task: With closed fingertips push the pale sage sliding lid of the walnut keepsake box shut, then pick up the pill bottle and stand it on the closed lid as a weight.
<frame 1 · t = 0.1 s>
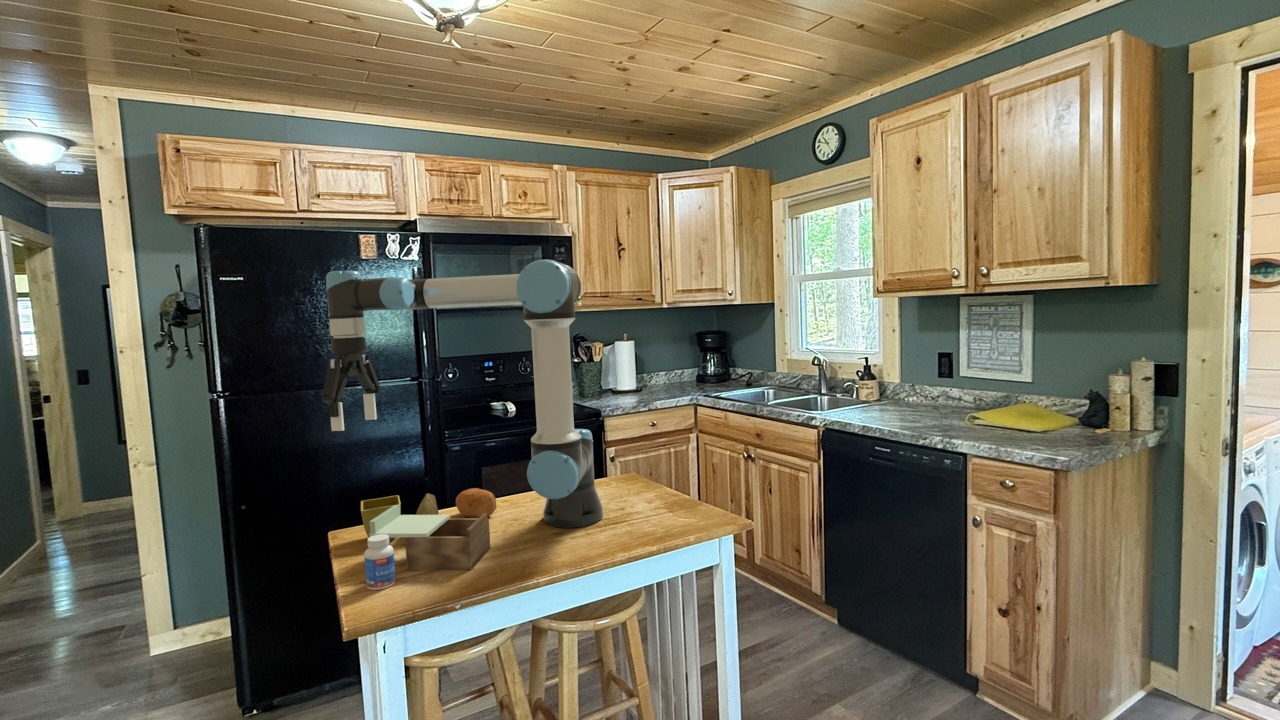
hand: (355, 425, 151), 28 cm above the table, fingers open, 13 cm apart
keepsake box: (450, 558, 138), on the table
rock: (424, 538, 153), on the table
potato: (475, 516, 167), on the table
lid: (410, 520, 139), point 9 cm above the table, slide at 8.0 cm
pill bottle: (381, 585, 126), on the table
flower pot: (383, 539, 153), on the table
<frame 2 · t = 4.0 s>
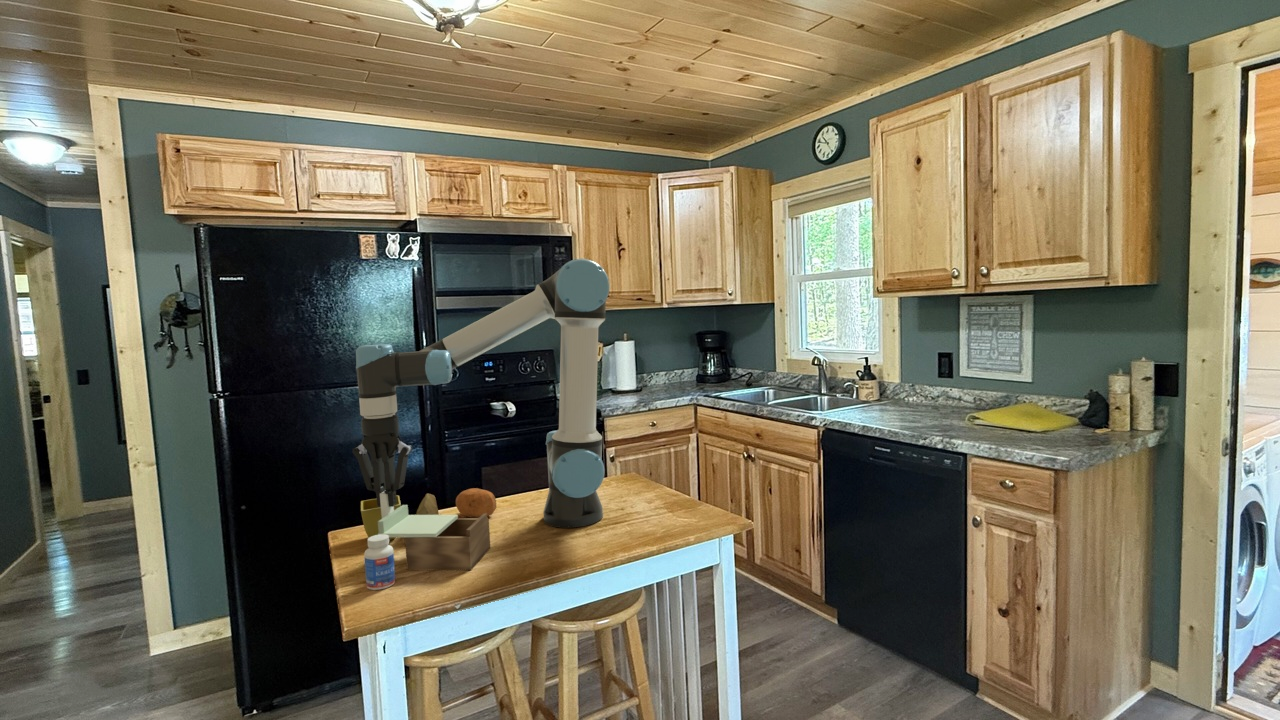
hand: (388, 520, 139), 9 cm above the table, fingers closed
lid: (418, 520, 138), point 9 cm above the table, slide at 6.1 cm, touching gripper
everything else where it was.
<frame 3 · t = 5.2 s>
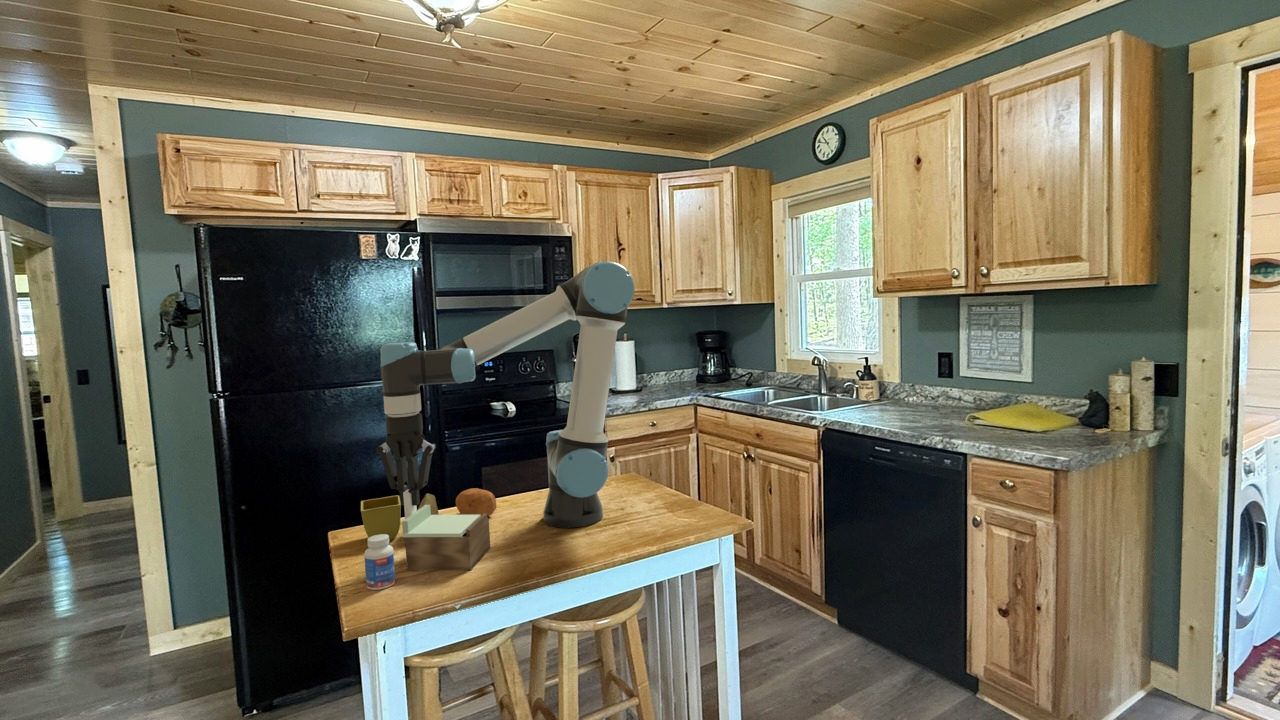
hand: (411, 519, 139), 9 cm above the table, fingers closed
lid: (442, 519, 138), point 9 cm above the table, slide at 0.7 cm, touching gripper
everything else where it was.
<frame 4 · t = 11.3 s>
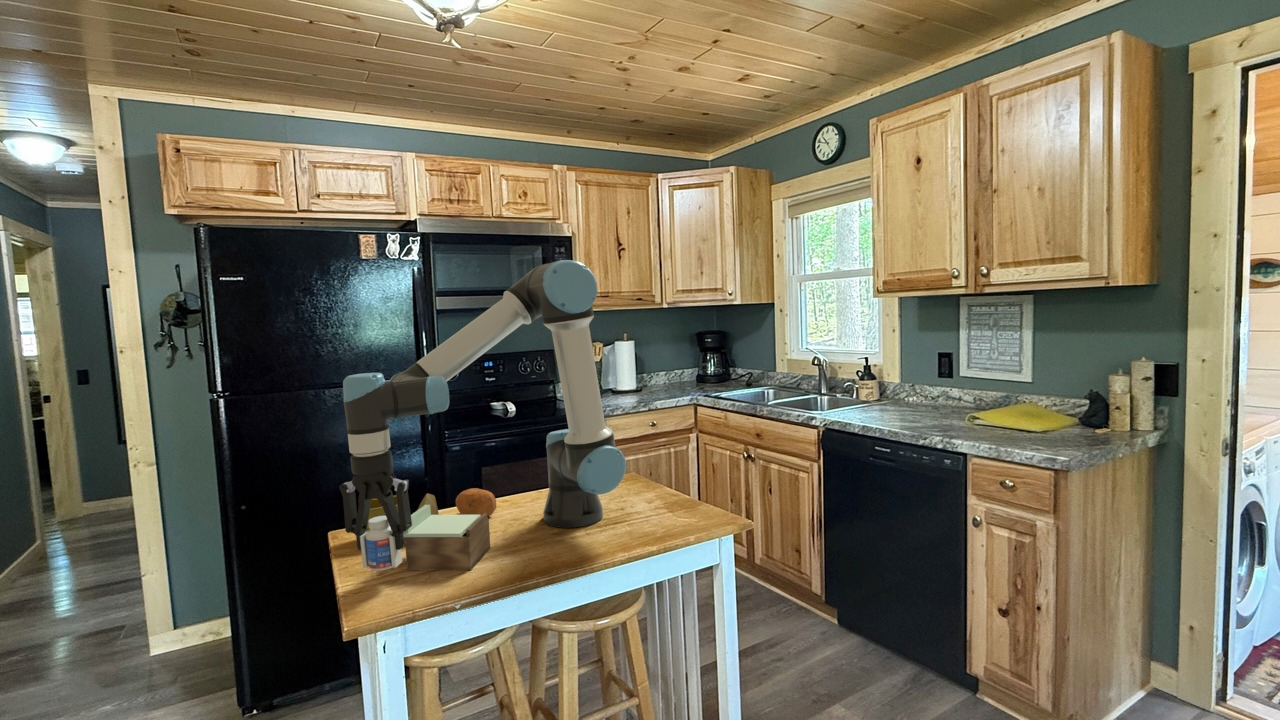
hand: (382, 564, 126), 4 cm above the table, fingers closed on pill bottle, 5 cm apart
lid: (442, 519, 138), point 9 cm above the table, slide at 0.7 cm
pill bottle: (383, 566, 127), point 3 cm above the table, touching gripper
everything else where it was.
when the fingers open (9 cm above the table, at t = 15.6 s): pill bottle drops 1 cm, resting on lid.
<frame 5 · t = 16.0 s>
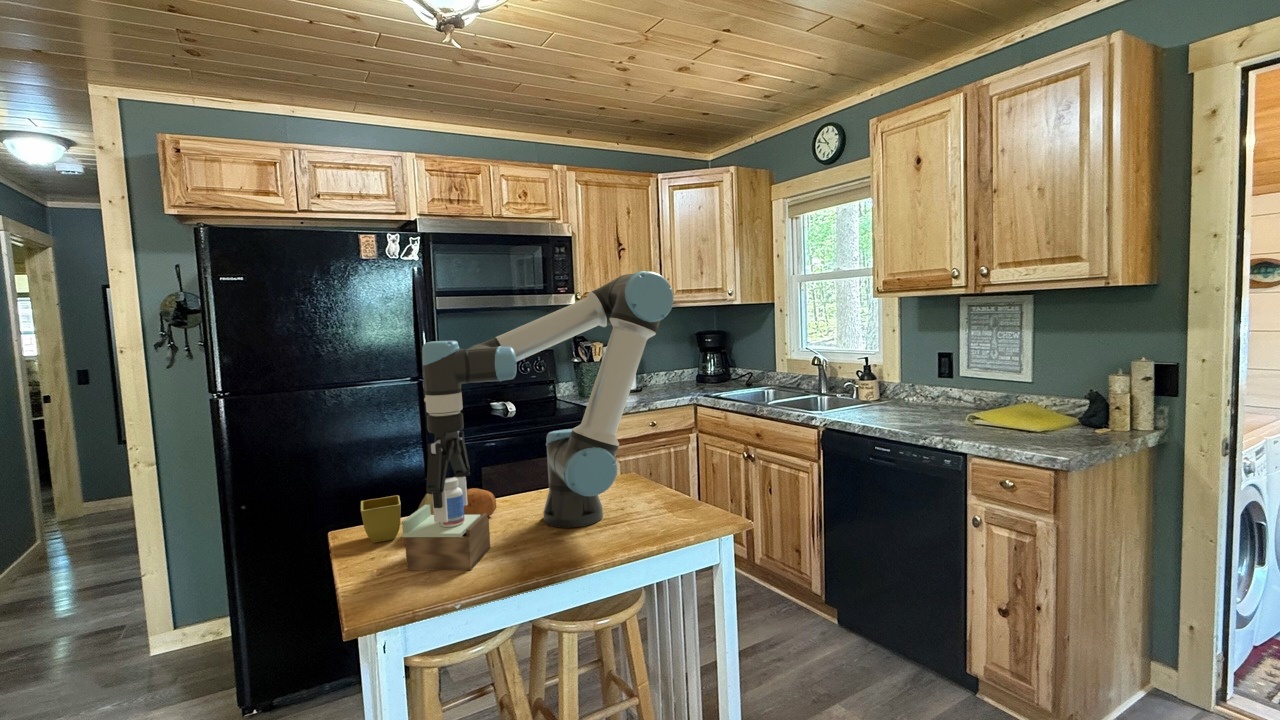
hand: (451, 513, 137), 10 cm above the table, fingers open, 10 cm apart
lid: (442, 519, 138), point 9 cm above the table, slide at 0.7 cm, touching pill bottle
pill bottle: (451, 524, 138), point 8 cm above the table, touching lid
everything else where it was.
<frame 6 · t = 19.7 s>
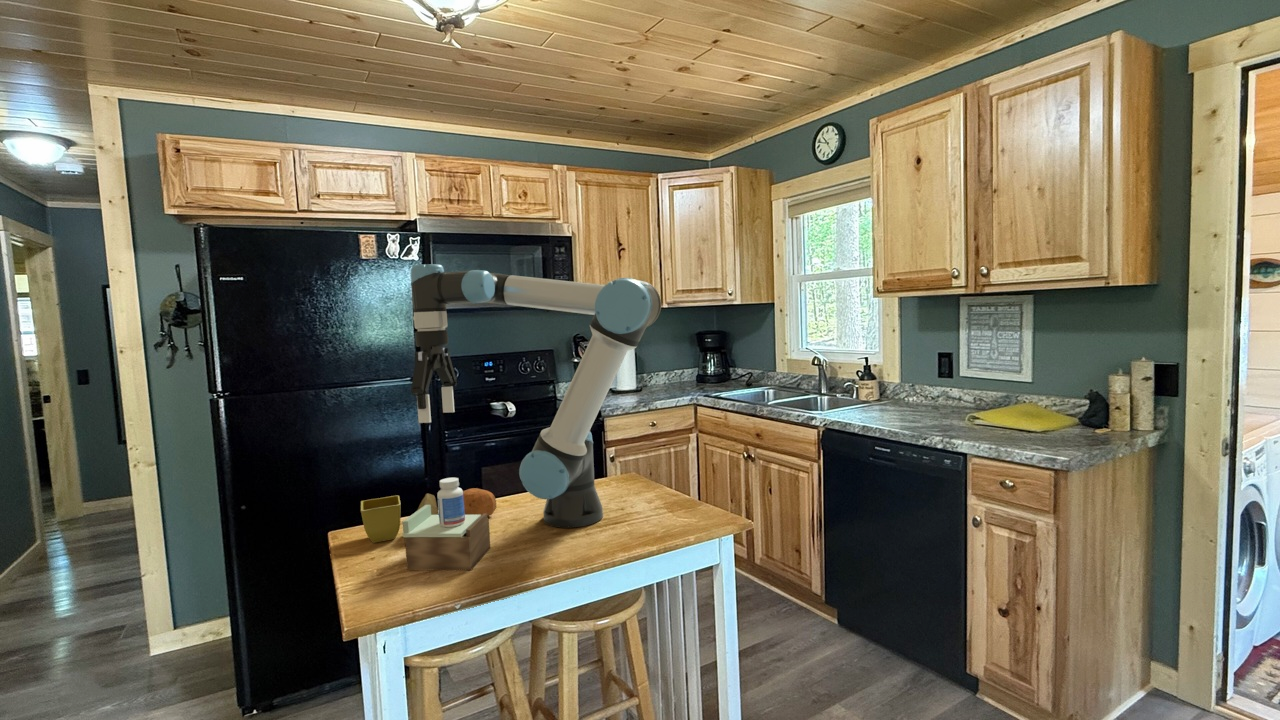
hand: (437, 417, 153), 29 cm above the table, fingers open, 13 cm apart
nothing on the table moved.
at the end: lid slide at 0.6 cm; pill bottle inside the target area on the keepsake box (1.0 cm from its centre), point 7.7 cm above the keepsake box's base; pill bottle tilted 0° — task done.
